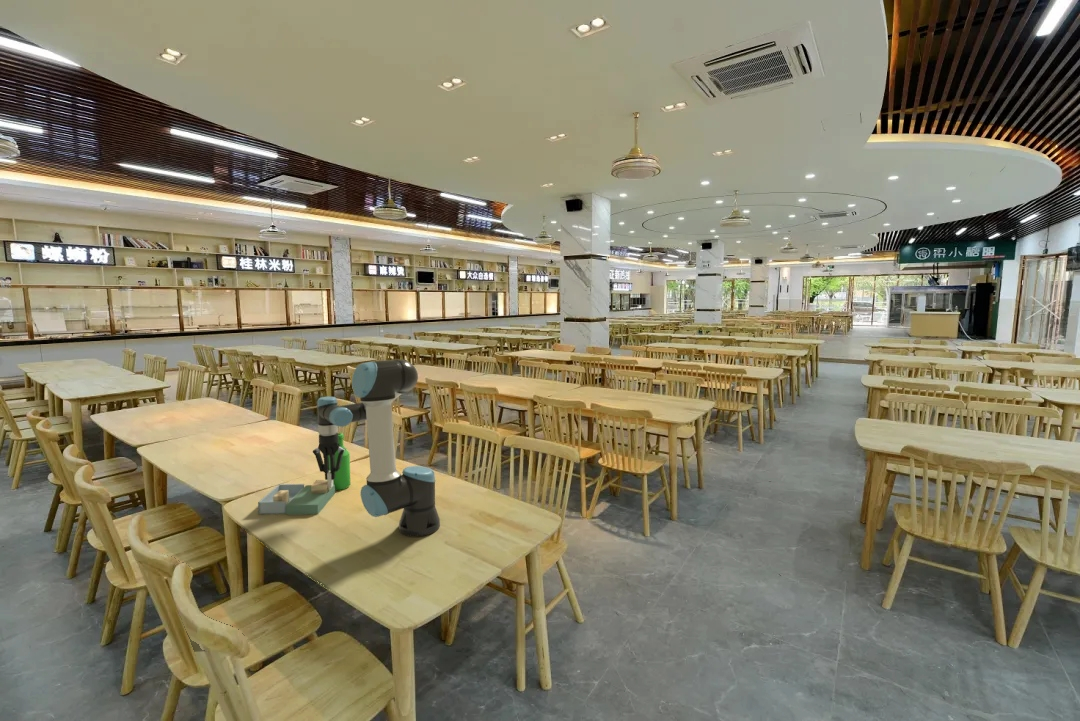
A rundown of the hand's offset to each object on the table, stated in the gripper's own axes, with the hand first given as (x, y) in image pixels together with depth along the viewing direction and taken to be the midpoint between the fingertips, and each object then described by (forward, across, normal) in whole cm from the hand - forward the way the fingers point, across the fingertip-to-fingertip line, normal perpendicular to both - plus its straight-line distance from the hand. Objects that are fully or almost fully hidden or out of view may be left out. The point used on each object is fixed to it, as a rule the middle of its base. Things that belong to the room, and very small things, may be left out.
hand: (330, 486), depth 198 cm
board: (+6, +6, +4) cm, 9 cm away
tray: (+6, +18, +4) cm, 19 cm away
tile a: (+2, +15, +8) cm, 17 cm away
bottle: (+6, 0, -13) cm, 14 cm away
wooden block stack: (+2, +4, 0) cm, 4 cm away
